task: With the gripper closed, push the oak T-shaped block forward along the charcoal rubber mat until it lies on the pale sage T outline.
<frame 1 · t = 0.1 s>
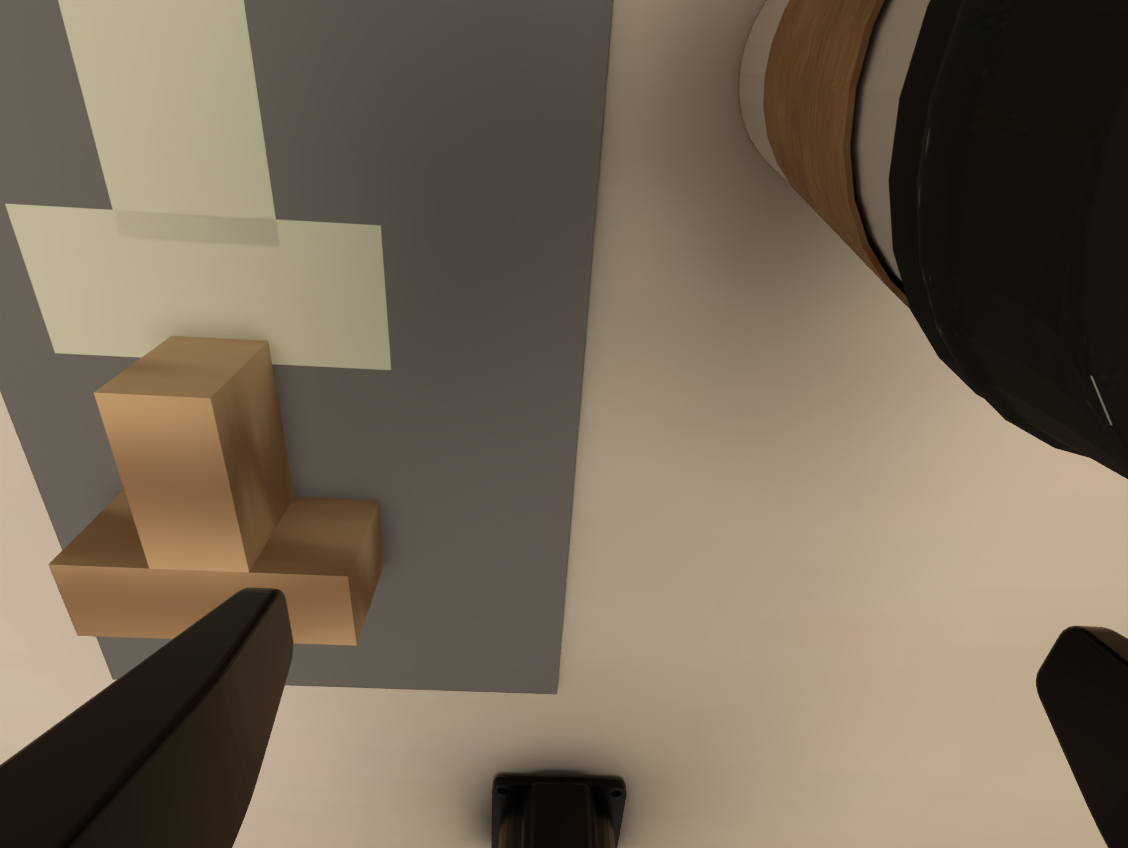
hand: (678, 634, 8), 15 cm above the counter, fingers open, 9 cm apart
t block: (258, 528, 25), resting on mat
coffee cup: (845, 71, 18), on the counter
mat: (301, 418, 23), on the counter
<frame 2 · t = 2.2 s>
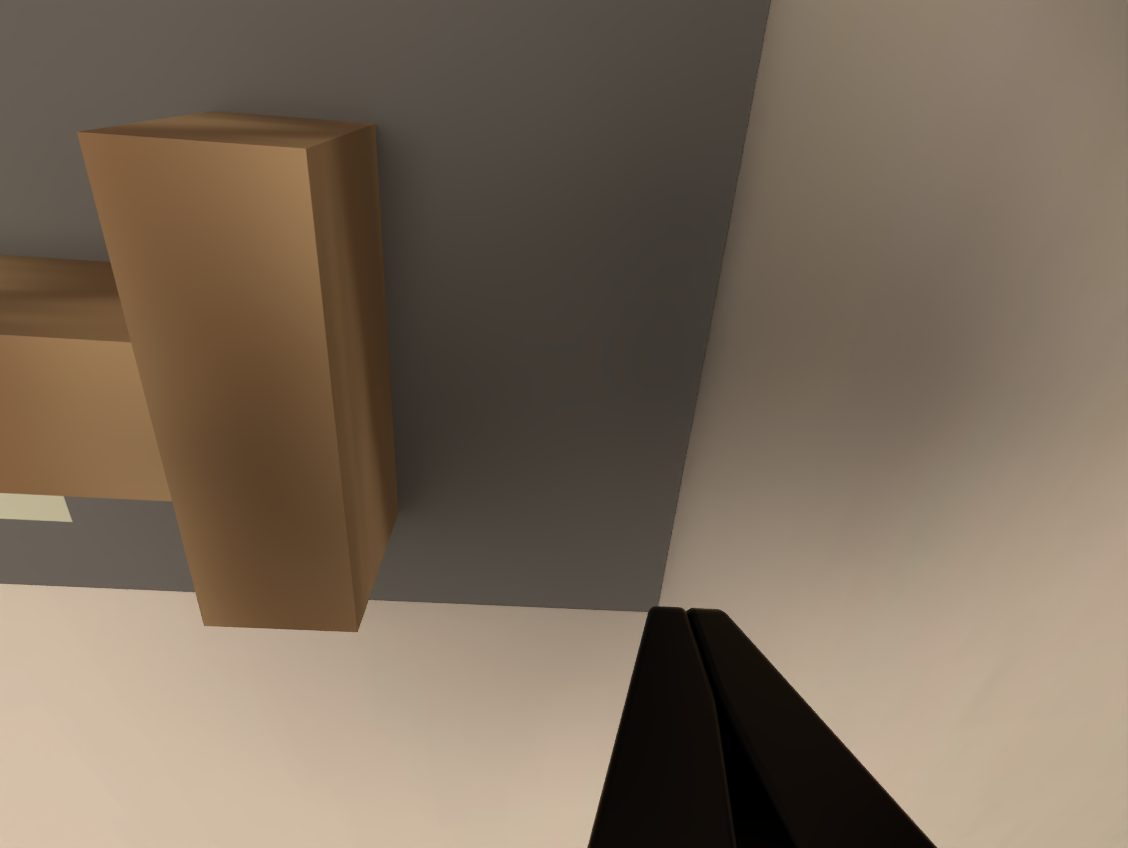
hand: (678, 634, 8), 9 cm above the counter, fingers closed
t block: (319, 342, 15), resting on mat
mat: (94, 231, 14), on the counter
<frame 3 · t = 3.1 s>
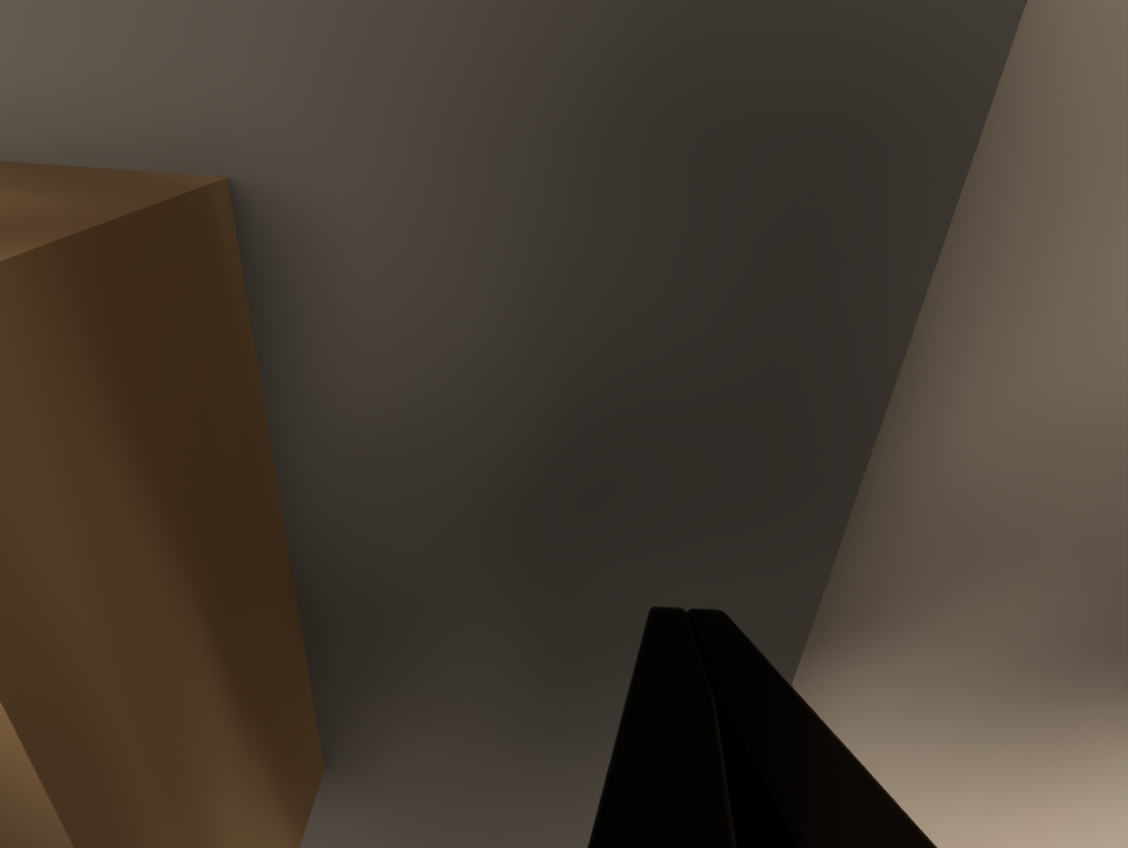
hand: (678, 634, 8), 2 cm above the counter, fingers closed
t block: (167, 543, 8), resting on mat
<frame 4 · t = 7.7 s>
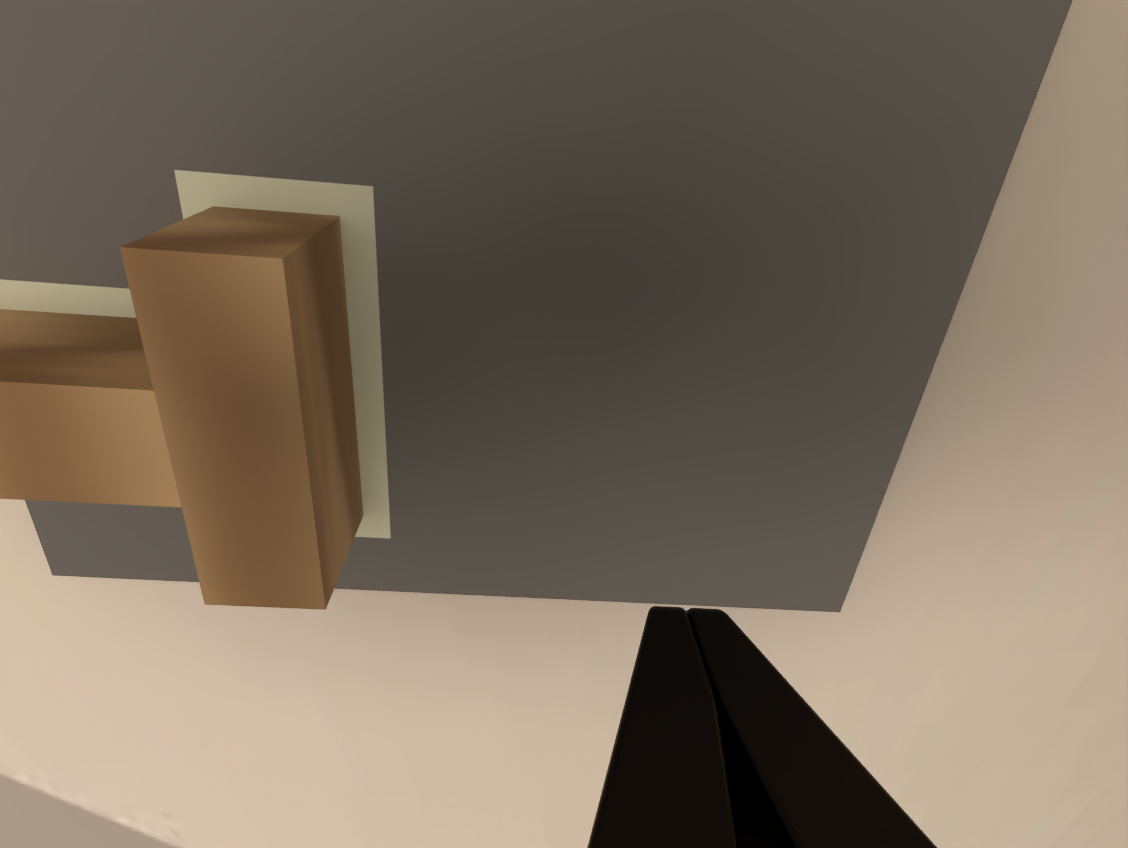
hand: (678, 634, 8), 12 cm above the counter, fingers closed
t block: (297, 379, 18), resting on mat
mat: (465, 318, 18), on the counter
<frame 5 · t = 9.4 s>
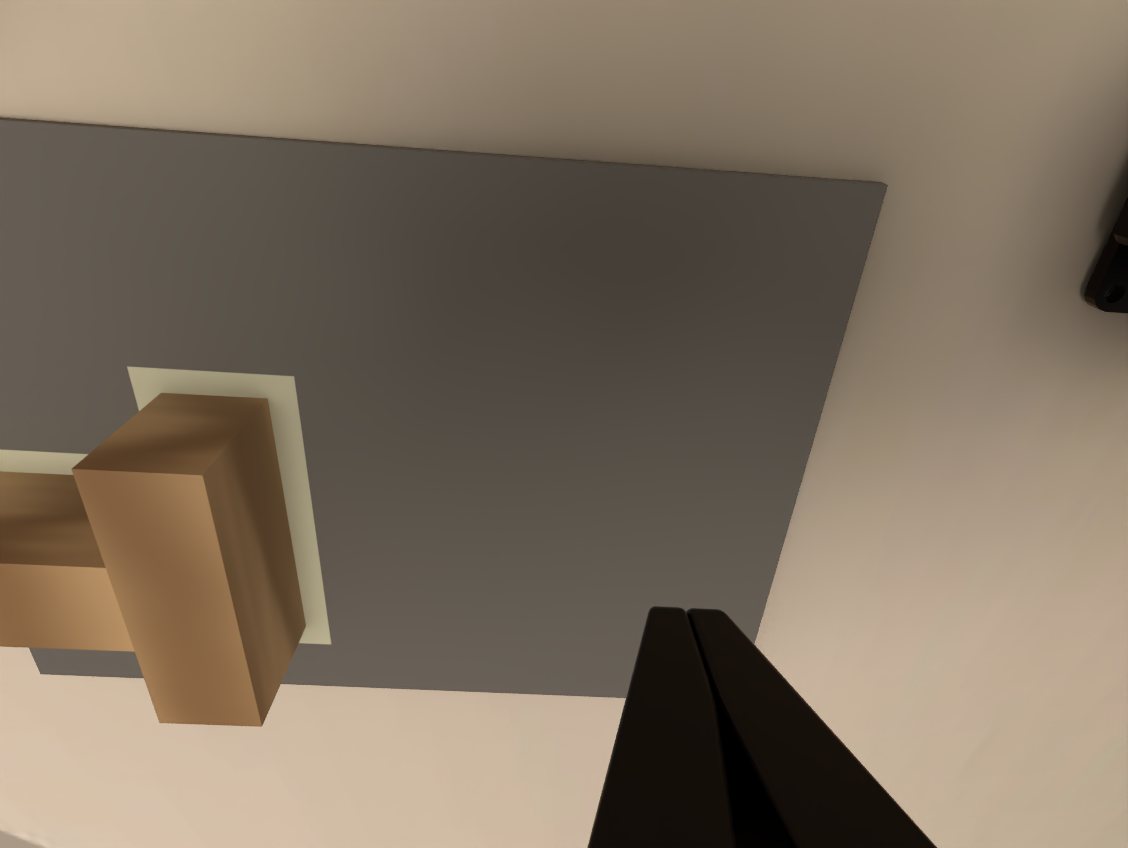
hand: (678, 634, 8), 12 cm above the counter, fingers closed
t block: (241, 521, 21), resting on mat
mat: (383, 470, 21), on the counter
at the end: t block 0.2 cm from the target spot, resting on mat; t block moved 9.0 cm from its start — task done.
